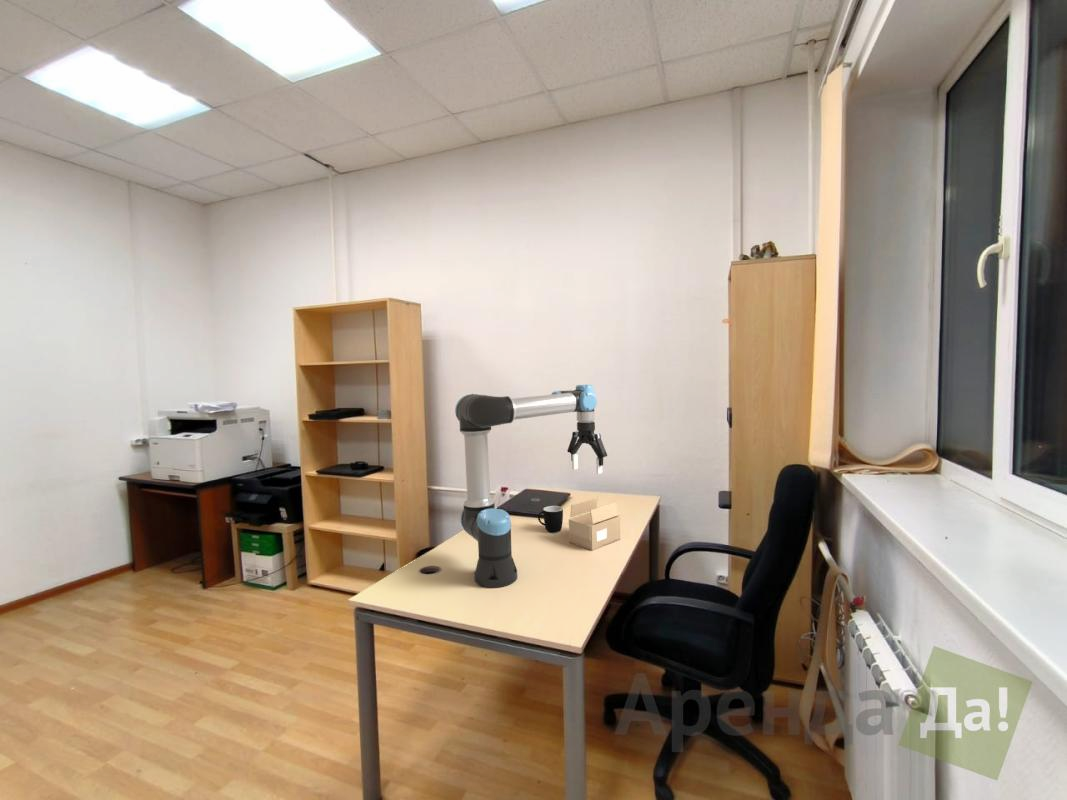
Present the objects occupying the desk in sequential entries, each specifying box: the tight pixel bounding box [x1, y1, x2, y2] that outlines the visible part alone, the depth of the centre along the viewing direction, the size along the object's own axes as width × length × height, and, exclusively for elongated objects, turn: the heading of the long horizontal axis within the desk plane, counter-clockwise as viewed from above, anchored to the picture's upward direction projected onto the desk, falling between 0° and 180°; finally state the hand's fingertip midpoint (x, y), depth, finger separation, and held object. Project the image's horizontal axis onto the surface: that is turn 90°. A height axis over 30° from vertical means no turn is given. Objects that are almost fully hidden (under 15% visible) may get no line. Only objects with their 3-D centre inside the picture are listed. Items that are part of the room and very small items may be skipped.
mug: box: [537, 505, 564, 534], centre depth 212 cm, size 12×9×10 cm
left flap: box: [569, 497, 599, 518], centre depth 200 cm, size 16×6×1 cm
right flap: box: [589, 501, 619, 524], centre depth 192 cm, size 16×6×1 cm
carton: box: [568, 512, 621, 552], centre depth 197 cm, size 18×13×10 cm
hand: (587, 471), depth 197 cm, fingers open, 13 cm apart
